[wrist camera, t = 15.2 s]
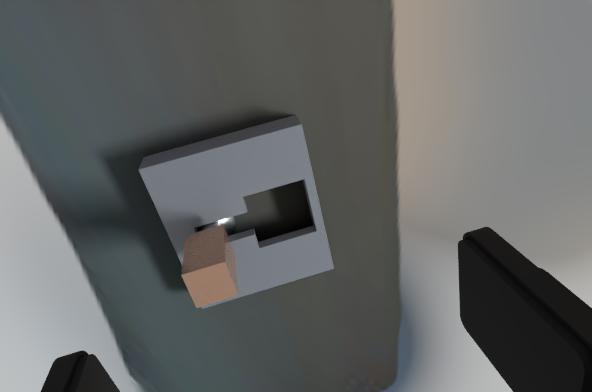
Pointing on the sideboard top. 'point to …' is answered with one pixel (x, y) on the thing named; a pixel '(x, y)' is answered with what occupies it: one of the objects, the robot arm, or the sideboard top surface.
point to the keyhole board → (241, 199)
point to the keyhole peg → (210, 263)
